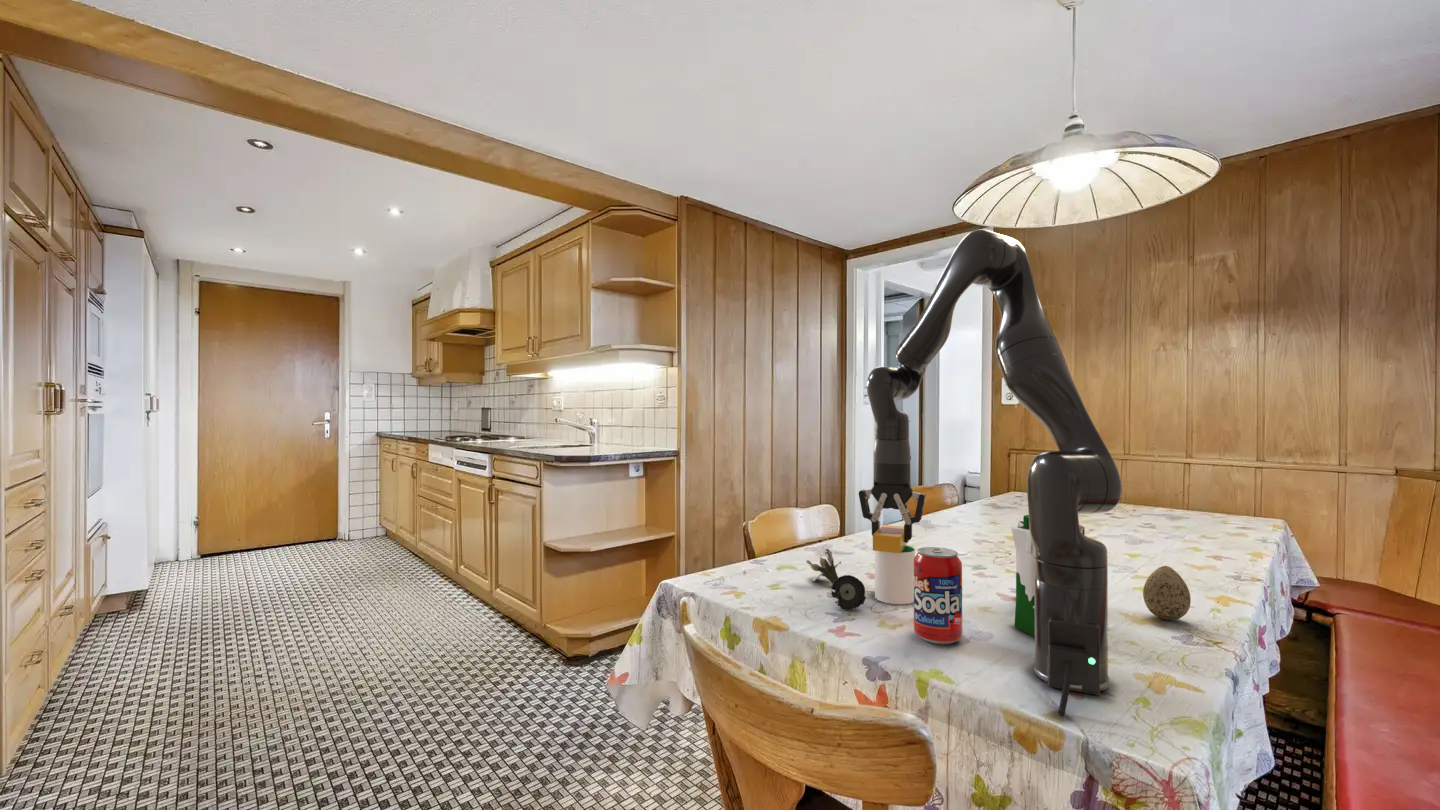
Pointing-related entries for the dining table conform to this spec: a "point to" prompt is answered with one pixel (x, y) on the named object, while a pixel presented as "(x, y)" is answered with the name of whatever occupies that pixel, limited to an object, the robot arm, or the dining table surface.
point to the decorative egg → (1166, 594)
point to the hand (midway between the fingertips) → (891, 540)
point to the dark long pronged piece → (841, 584)
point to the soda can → (938, 595)
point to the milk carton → (1024, 578)
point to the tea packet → (889, 539)
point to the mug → (895, 576)
